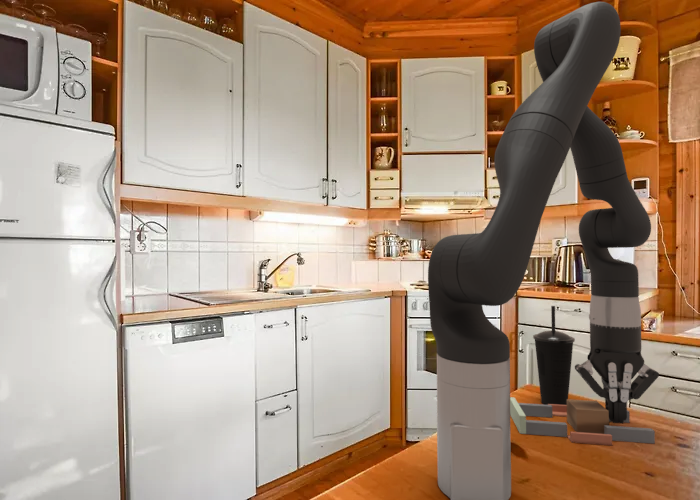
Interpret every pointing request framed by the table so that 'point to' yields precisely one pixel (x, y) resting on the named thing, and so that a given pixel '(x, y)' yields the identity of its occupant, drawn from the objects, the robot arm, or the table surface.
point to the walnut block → (587, 416)
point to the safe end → (518, 415)
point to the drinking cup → (554, 364)
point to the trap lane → (580, 437)
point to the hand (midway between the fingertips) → (616, 421)
